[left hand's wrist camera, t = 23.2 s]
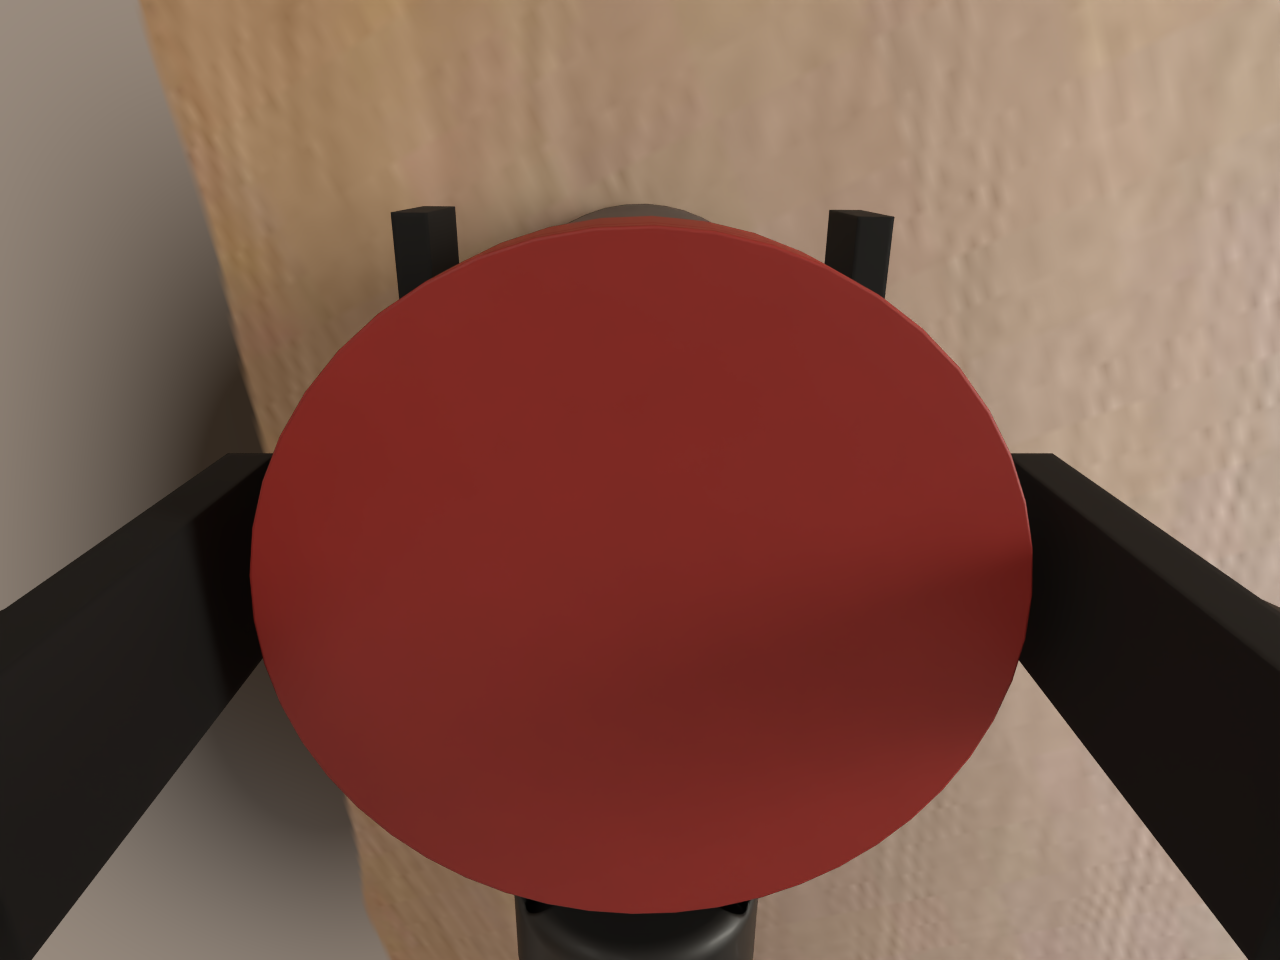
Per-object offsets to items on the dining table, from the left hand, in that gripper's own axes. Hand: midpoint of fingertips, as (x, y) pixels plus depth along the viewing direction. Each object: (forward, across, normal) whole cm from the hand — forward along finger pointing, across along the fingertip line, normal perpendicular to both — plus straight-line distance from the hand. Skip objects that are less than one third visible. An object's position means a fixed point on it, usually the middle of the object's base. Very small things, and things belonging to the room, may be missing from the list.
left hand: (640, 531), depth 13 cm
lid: (-3, 0, 0) cm, 3 cm away
